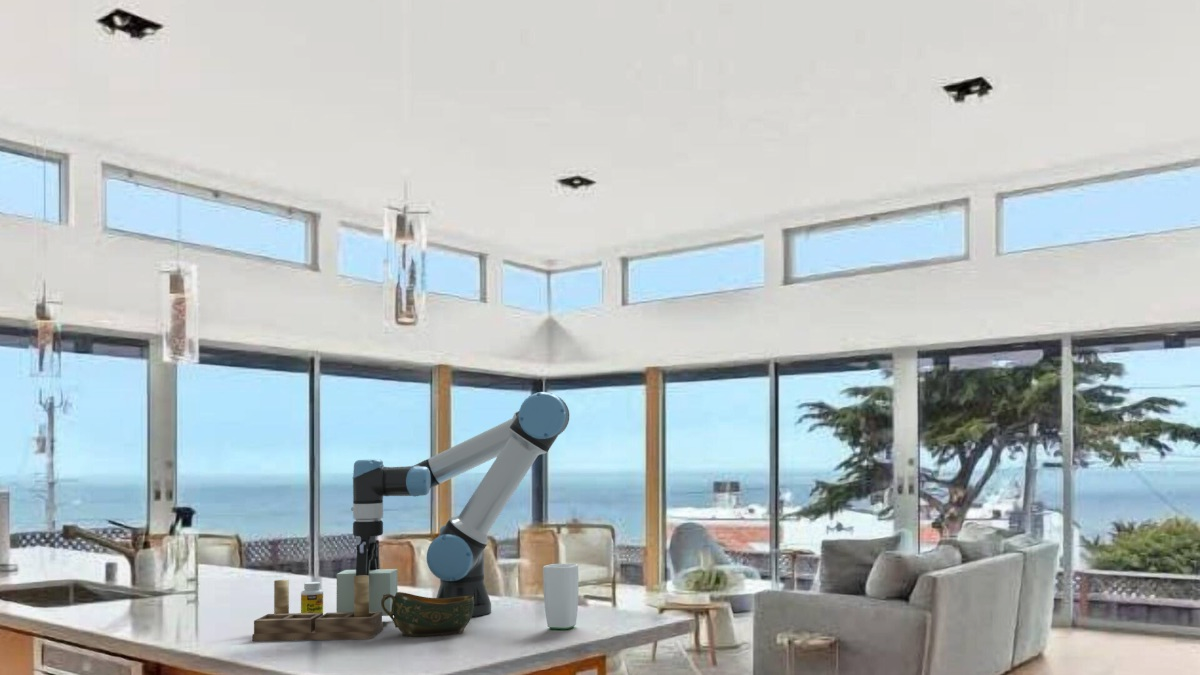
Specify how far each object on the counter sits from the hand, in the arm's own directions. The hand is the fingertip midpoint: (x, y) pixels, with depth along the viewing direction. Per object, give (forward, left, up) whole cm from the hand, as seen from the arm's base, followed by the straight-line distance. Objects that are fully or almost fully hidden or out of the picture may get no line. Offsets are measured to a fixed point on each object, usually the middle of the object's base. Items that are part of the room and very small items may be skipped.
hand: (367, 610), depth 275 cm
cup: (-50, +13, -3) cm, 52 cm away
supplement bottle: (+15, -2, -4) cm, 15 cm away
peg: (+20, +7, -3) cm, 21 cm away
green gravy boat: (-19, +17, -4) cm, 26 cm away
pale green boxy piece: (0, 0, -1) cm, 1 cm away
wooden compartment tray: (+8, +16, -3) cm, 18 cm away
